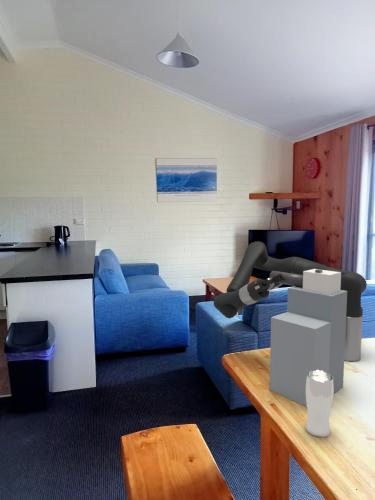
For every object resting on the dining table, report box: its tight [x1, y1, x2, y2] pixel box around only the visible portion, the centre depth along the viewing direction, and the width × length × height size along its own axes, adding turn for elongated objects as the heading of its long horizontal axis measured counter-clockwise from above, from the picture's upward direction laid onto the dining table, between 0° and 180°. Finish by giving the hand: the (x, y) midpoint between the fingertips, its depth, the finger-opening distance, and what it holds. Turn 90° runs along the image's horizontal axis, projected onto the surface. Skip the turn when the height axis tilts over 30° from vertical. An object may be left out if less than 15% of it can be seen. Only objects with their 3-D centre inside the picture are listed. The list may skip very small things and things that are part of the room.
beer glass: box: [305, 370, 335, 438], centre depth 92 cm, size 7×7×15 cm
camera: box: [269, 269, 341, 295], centre depth 117 cm, size 7×23×7 cm, turn 41°
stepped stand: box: [269, 286, 347, 407], centre depth 112 cm, size 19×15×32 cm
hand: (287, 275), depth 121 cm, fingers open, 6 cm apart
